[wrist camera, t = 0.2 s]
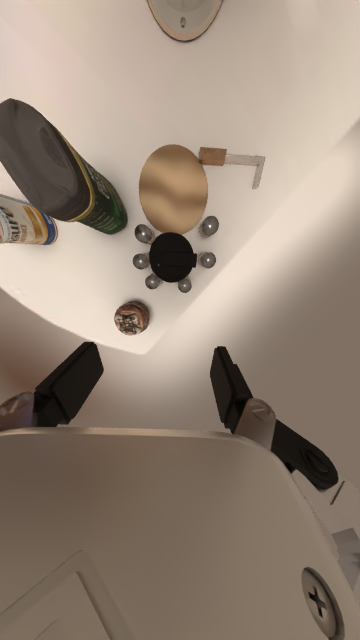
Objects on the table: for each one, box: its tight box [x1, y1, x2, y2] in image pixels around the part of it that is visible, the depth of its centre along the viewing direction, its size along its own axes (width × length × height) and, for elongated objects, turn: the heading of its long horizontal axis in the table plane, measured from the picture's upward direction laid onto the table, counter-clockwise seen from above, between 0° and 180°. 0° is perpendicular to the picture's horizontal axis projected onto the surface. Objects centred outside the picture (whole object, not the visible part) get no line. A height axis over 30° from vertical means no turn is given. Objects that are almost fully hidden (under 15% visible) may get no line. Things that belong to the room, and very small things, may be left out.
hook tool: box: [199, 147, 265, 189], centre depth 27 cm, size 13×5×2 cm, turn 87°
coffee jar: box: [0, 98, 127, 234], centre depth 23 cm, size 10×8×19 cm
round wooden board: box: [139, 145, 208, 235], centre depth 30 cm, size 15×15×1 cm
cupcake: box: [114, 302, 149, 335], centre depth 38 cm, size 10×10×10 cm
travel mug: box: [149, 232, 197, 283], centre depth 26 cm, size 6×7×20 cm
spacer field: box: [133, 216, 219, 293], centre depth 33 cm, size 16×19×6 cm
